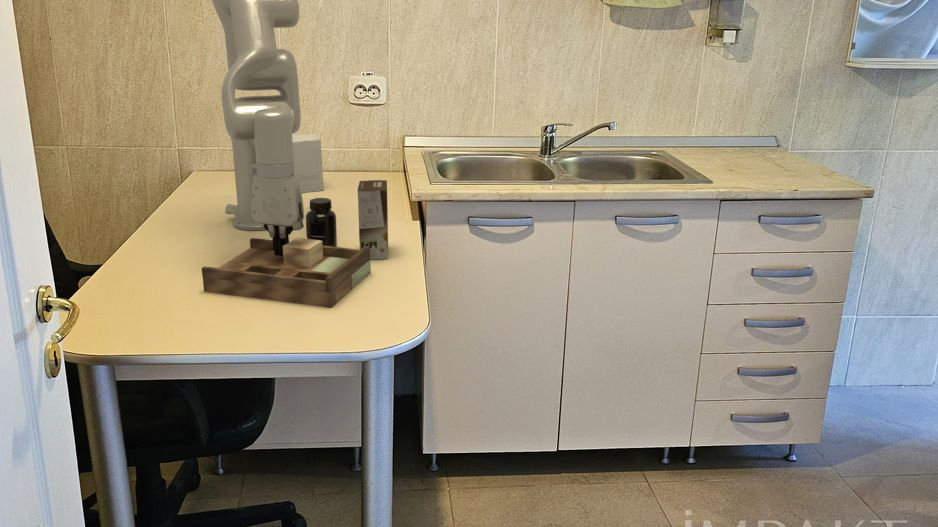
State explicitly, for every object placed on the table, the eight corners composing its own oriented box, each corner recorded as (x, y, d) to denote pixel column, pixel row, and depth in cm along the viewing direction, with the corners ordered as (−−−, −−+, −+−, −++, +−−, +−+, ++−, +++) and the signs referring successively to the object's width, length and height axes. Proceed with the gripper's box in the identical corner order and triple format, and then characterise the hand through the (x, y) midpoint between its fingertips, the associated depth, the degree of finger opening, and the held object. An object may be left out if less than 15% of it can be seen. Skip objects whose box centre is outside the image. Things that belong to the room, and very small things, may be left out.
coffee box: (388, 259, 194) (386, 190, 188) (359, 260, 193) (357, 190, 188) (388, 246, 202) (387, 179, 197) (361, 246, 202) (358, 179, 196)
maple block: (283, 264, 182) (282, 246, 180) (298, 255, 187) (297, 237, 186) (309, 267, 180) (308, 249, 178) (323, 258, 185) (322, 240, 184)
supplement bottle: (312, 257, 195) (309, 205, 191) (303, 248, 200) (300, 198, 196) (341, 252, 198) (339, 202, 194) (331, 244, 203) (329, 194, 199)
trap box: (203, 291, 175) (201, 263, 173) (253, 259, 193) (251, 233, 191) (331, 307, 168) (330, 278, 166) (370, 272, 186) (369, 246, 184)
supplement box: (316, 183, 255) (313, 133, 250) (324, 191, 247) (321, 139, 242) (285, 186, 252) (282, 135, 247) (292, 194, 244) (289, 141, 239)
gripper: (233, 171, 177) (241, 255, 183) (300, 176, 173) (305, 263, 179) (252, 163, 184) (259, 245, 190) (317, 168, 180) (321, 252, 186)
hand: (281, 253), depth 185 cm, fingers closed
